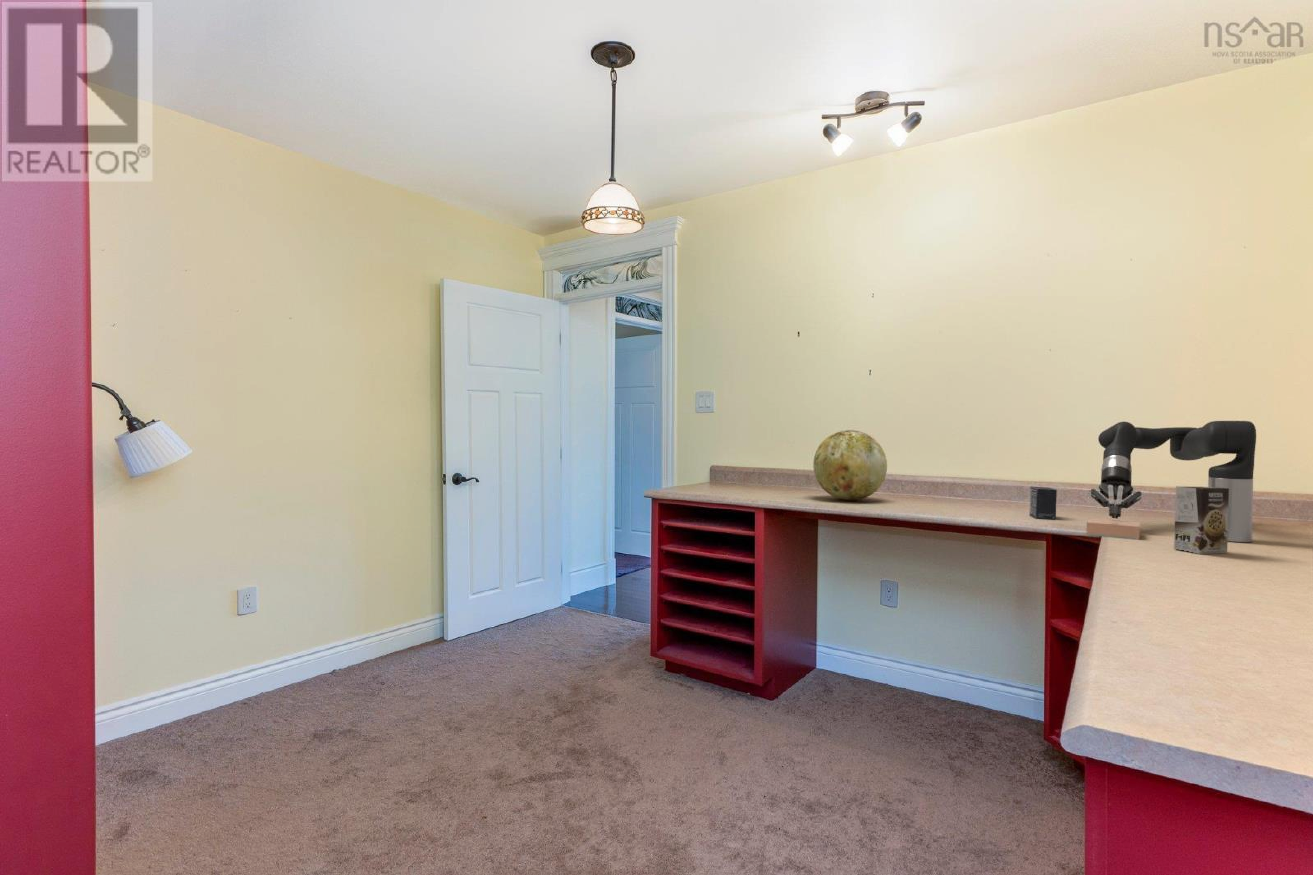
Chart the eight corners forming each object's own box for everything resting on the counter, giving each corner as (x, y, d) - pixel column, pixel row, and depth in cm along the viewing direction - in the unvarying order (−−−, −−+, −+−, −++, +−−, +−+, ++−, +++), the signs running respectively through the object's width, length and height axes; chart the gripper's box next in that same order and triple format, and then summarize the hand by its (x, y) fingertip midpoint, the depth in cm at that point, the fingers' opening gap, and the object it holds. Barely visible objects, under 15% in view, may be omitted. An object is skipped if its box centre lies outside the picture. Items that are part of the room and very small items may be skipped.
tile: (1089, 518, 189) (1086, 522, 179) (1139, 522, 182) (1139, 526, 172) (1089, 531, 189) (1086, 536, 180) (1139, 536, 182) (1139, 541, 172)
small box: (1057, 520, 212) (1058, 489, 212) (1035, 519, 214) (1036, 488, 214) (1049, 516, 221) (1050, 487, 221) (1028, 515, 224) (1029, 486, 224)
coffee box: (1200, 554, 151) (1201, 488, 151) (1172, 549, 157) (1174, 485, 157) (1229, 553, 153) (1230, 487, 153) (1200, 548, 159) (1202, 485, 159)
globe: (800, 500, 265) (801, 429, 264) (831, 495, 287) (832, 430, 287) (869, 506, 245) (870, 430, 245) (897, 500, 267) (898, 431, 267)
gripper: (1143, 482, 191) (1142, 526, 181) (1090, 480, 199) (1087, 522, 190) (1143, 466, 187) (1143, 510, 177) (1090, 464, 195) (1087, 506, 185)
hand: (1114, 516), depth 183 cm, fingers closed
